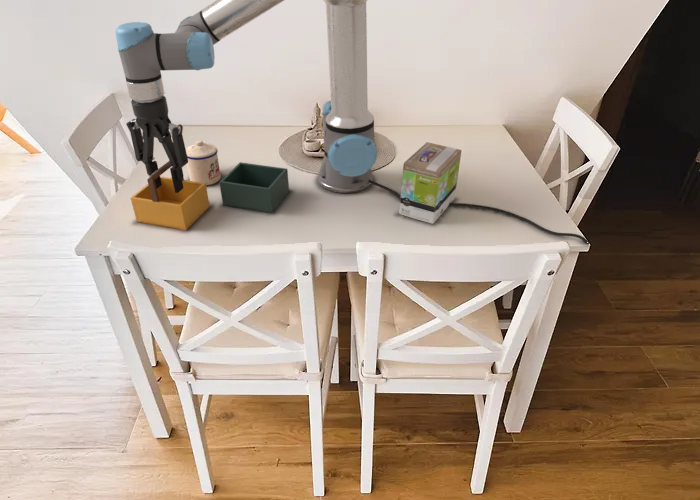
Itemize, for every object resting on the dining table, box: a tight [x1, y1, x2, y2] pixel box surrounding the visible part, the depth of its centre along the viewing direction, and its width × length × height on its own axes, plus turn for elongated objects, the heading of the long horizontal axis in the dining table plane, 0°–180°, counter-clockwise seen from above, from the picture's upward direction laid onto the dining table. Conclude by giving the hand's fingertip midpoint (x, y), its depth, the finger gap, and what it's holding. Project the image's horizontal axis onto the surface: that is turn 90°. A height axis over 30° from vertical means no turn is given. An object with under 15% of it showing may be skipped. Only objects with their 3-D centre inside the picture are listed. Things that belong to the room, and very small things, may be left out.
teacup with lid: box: [185, 139, 222, 186], centre depth 152 cm, size 12×9×12 cm
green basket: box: [218, 161, 290, 214], centre depth 143 cm, size 14×12×7 cm
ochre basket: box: [130, 160, 211, 231], centre depth 135 cm, size 14×12×14 cm
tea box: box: [398, 141, 462, 225], centre depth 137 cm, size 15×10×15 cm
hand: (168, 188), depth 134 cm, fingers open, 5 cm apart
